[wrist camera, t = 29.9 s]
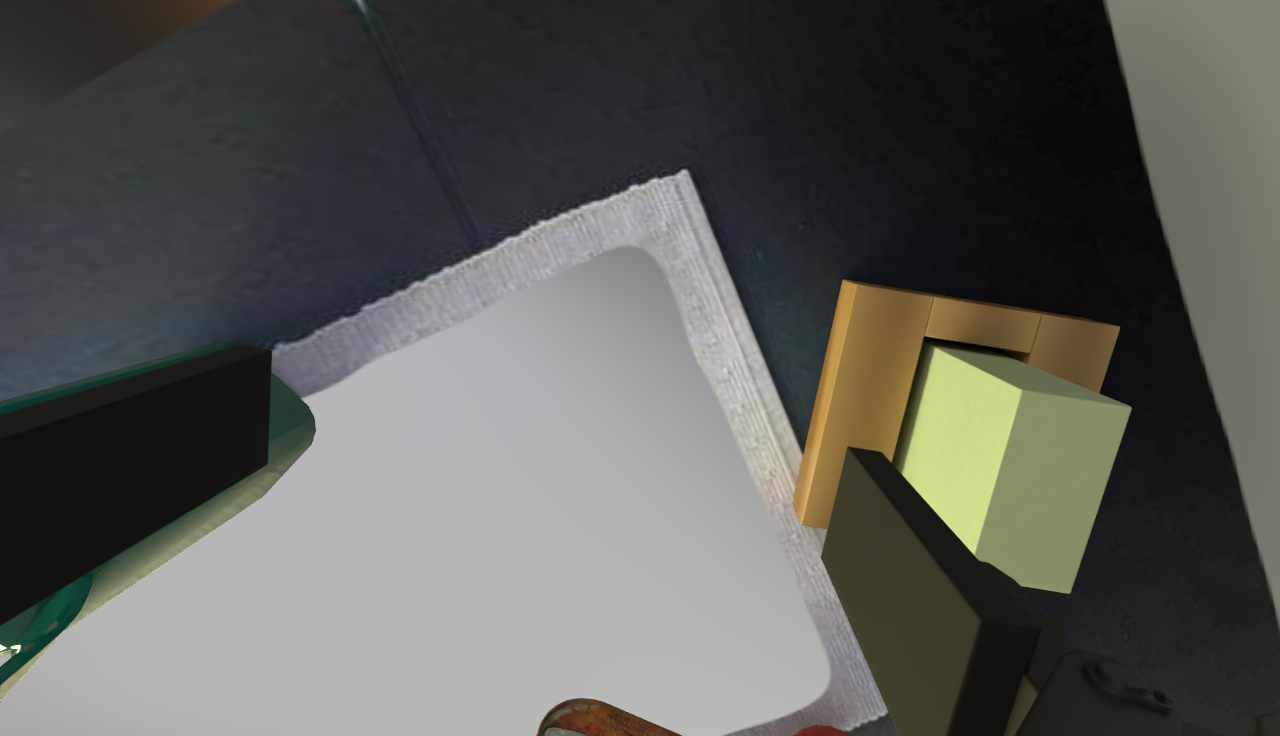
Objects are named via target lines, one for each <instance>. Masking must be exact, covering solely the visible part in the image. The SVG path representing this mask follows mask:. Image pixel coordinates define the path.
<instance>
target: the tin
mask: <svg viewBox="0 0 1280 736" xmlns="http://www.w3.org/2000/svg"><path fill="white" fill-rule="evenodd" d="M536 736H681V735H679V734H677V733H675V732H672V731H670V730H667V729H665V728H663V727H660V726H658V725H656V724H653V723H651V722H649V721H646V720H644V719H642V718H639V717H637V716H635V715H633V714H630V713H628V712H626V711H623V710H621V709H619V708H616V707H614V706H612V705H610V704H607V703H605V702H602V701H598V700H594V699H584V698H579V699H571V700H567V701H564V702H562V703H560V704H558V705H556V706H555V707H554V708H552V709H551V710H550V711H549V712H548V713H547V714H546V716H545V717H544V719H543V720H542V722H541V724H540V726H539V730H538V733H537V735H536Z"/></svg>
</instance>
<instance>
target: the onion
mask: <svg viewBox="0 0 1280 736" xmlns="http://www.w3.org/2000/svg"><path fill="white" fill-rule="evenodd" d="M793 736H850V735H848V734H847V733H845V732H843V731H841V730H838V729H836V728H833V727H831V726H820V725H815V726H812V727H808V728H805V729H802V730H800V731H799V732H798V733H796V734H795V735H793Z"/></svg>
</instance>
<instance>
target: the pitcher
mask: <svg viewBox="0 0 1280 736" xmlns="http://www.w3.org/2000/svg"><path fill="white" fill-rule="evenodd" d="M235 346H236V345H234V344H231V343H214V344H211V345H207V346H203V347H199V348H196V349H192V350H188V351H185V352H181V353H177V354H174V355H170V356H166V357H162V358H159V359H155V360H151V361H148V362H144V363H140V364H137V365H133V366H129V367H125V368H122V369H118V370H114V371H111V372H107V373H103V374H100V375H96V376H92V377H88V378H85V379H81V380H77V381H74V382H70V383H66V384H63V385H59V386H55V387H52V388H48V389H44V390H40V391H37V392H33V393H29V394H26V395H22V396H18V397H15V398H11V399H7V400H3V401H0V414H2V413H6V412H9V411H13V410H16V409H20V408H23V407H27V406H30V405H34V404H37V403H41V402H44V401H48V400H51V399H54V398H58V397H61V396H65V395H68V394H72V393H75V392H79V391H82V390H86V389H89V388H93V387H96V386H100V385H103V384H106V383H110V382H113V381H117V380H120V379H124V378H127V377H131V376H134V375H138V374H141V373H145V372H148V371H152V370H155V369H158V368H162V367H165V366H169V365H172V364H176V363H179V362H183V361H186V360H190V359H193V358H197V357H200V356H204V355H207V354H211V353H214V352H217V351H221V350H224V349H228V348H231V347H235ZM315 432H316V428H315V419H314V416H313V414H312V412H311V410H310V409H309V406H308V405H307V404H306V403H304V402H303V401H302V400H301V399H300V398H299V397H298V396H297V395H296V394H294V393H293V392H292V391H291V390H290V389H289V388H288V387H287V386H286V385H284V384H283V383H282V382H281V381H280V380H279V379H278V378H277V377H276V376H274V375H273V374H272V373H271V392H270V421H269V450H268V465H266V466H265V467H263V468H261V469H260V470H258V471H256V472H255V473H253V474H251V475H250V476H248V477H246V478H245V479H243V480H241V481H240V482H238V483H236V484H235V485H233V486H231V487H230V488H228V489H226V490H225V491H223V492H221V493H220V494H218V495H216V496H215V497H213V498H211V499H210V500H208V501H207V502H205V503H203V504H202V505H200V506H198V507H197V508H195V509H193V510H192V511H190V512H188V513H187V514H185V515H183V516H182V517H180V518H178V519H177V520H175V521H173V522H172V523H170V524H168V525H167V526H165V527H163V528H162V529H160V530H158V531H157V532H155V533H153V534H152V535H150V536H148V537H147V538H145V539H143V540H142V541H140V542H138V543H137V544H135V545H134V546H132V547H130V548H129V549H127V550H125V551H124V552H122V553H120V554H119V555H117V556H115V557H114V558H112V559H110V560H109V561H107V562H105V563H104V564H102V565H100V566H99V567H97V568H95V569H94V570H92V571H90V572H89V573H87V574H85V575H84V576H82V577H80V578H79V579H77V580H75V581H74V582H72V583H70V584H69V585H67V586H65V587H64V588H62V589H61V590H59V591H57V592H56V593H54V594H52V595H51V596H49V597H47V598H46V599H44V600H42V601H41V602H39V603H37V604H36V605H34V606H32V607H31V608H29V609H27V610H26V611H24V612H22V613H21V614H19V615H17V616H16V617H14V618H12V619H11V620H9V621H7V622H6V623H4V624H2V625H1V626H0V654H11V659H9V660H8V661H7V662H6V663H4V664H3V665H2V666H1V667H0V702H1V701H2V700H3V698H4V697H5V696H6V695H7V694H8V693H9V692H10V691H11V690H12V688H13V687H14V686H15V685H16V684H17V683H18V682H19V681H20V679H21V678H22V677H23V676H24V675H25V674H26V673H27V672H28V670H29V669H30V668H31V667H32V666H33V665H34V664H35V663H36V662H37V660H38V659H39V658H40V657H41V656H42V655H43V654H44V653H45V651H46V650H47V649H48V648H49V647H50V646H51V645H52V644H53V643H54V641H55V640H56V639H57V638H58V637H59V636H60V635H61V634H62V633H63V631H65V630H66V629H68V628H69V627H71V626H72V625H74V624H75V623H77V622H78V621H79V620H81V619H83V618H84V617H86V616H87V615H89V614H90V613H91V612H93V611H94V610H96V609H97V608H99V607H100V606H102V605H103V604H105V603H106V602H108V601H109V600H111V599H112V598H114V597H115V596H117V595H118V594H120V593H121V592H123V591H124V590H125V589H127V588H128V587H130V586H131V585H133V584H134V583H136V582H137V581H139V580H140V579H142V578H143V577H145V576H146V575H148V574H149V573H151V572H152V571H154V570H155V569H157V568H158V567H160V566H161V565H163V564H164V563H165V562H167V561H168V560H170V559H171V558H173V557H174V556H176V555H177V554H179V553H180V552H182V551H183V550H185V549H186V548H188V547H189V546H191V545H192V544H193V543H195V542H196V541H198V540H199V539H201V538H202V537H204V536H205V535H207V534H208V533H210V532H211V531H213V530H214V529H216V528H217V527H219V526H220V525H222V524H223V523H225V522H226V521H227V520H229V519H230V518H232V517H233V516H235V515H236V514H238V513H239V512H241V511H242V510H244V509H245V508H247V507H248V506H250V505H251V504H253V503H254V502H256V501H257V500H259V499H260V498H262V497H263V496H264V495H265V494H266V493H267V492H268V491H269V490H270V488H271V487H272V486H273V485H274V484H275V483H276V482H277V481H278V480H279V479H280V477H282V476H283V474H284V473H285V472H286V471H287V470H288V469H289V468H290V467H291V466H292V465H293V463H295V461H296V460H297V459H298V458H299V457H300V456H301V455H302V454H303V453H304V452H305V451H306V450H307V449H308V448H309V446H310V445H311V444H312V442H313V438H314V435H315Z"/></svg>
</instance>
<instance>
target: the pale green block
mask: <svg viewBox="0 0 1280 736" xmlns="http://www.w3.org/2000/svg"><path fill="white" fill-rule="evenodd" d="M1131 409H1132V407H1130V406H1128V405H1126V404H1123V403H1121V402H1118V401H1116V400H1113V399H1111V398H1108V397H1106V396H1104V395H1101V394H1099V393H1096V392H1094V391H1091V390H1089V389H1086V388H1084V387H1081V386H1079V385H1077V384H1074V383H1072V382H1069V381H1067V380H1064V379H1062V378H1059V377H1057V376H1055V375H1052V374H1050V373H1047V372H1045V371H1042V370H1040V369H1037V368H1035V367H1033V366H1030V365H1028V364H1025V363H1023V362H1020V361H1018V360H1015V359H1013V358H1011V357H1008V356H1006V355H1003V354H1001V353H998V352H996V351H993V350H987V349H981V348H975V347H969V346H962V345H956V344H950V343H944V342H937V341H931V340H925V339H923V342H922V346H921V350H920V354H919V358H918V362H917V366H916V370H915V374H914V377H913V381H912V385H911V389H910V393H909V397H908V401H907V405H906V409H905V412H904V416H903V420H902V424H901V428H900V432H899V436H898V440H897V444H896V448H895V451H894V455H893V459H892V464H893V465H894V466H895V467H896V468H897V470H898V471H899V472H900V473H901V474H902V475H903V476H904V477H905V478H906V480H907V481H908V482H909V483H910V484H911V485H912V486H913V487H914V489H915V490H916V491H917V492H918V493H919V494H920V495H921V496H922V497H923V499H924V500H925V501H926V502H927V503H928V504H929V505H930V506H931V507H932V509H933V510H934V511H935V512H936V513H937V514H938V515H939V516H940V518H941V519H942V520H943V521H944V522H945V523H946V524H947V525H948V526H949V528H950V529H951V530H952V531H953V532H954V533H955V534H956V535H957V536H958V538H959V539H960V540H961V541H962V542H963V543H964V544H965V545H966V546H967V548H968V549H969V550H970V551H971V552H972V553H973V554H974V555H975V557H976V558H977V559H978V560H979V561H983V562H989V563H990V564H992V565H993V566H995V567H996V568H998V569H999V570H1001V571H1002V572H1004V573H1005V574H1007V575H1008V576H1010V577H1011V578H1013V579H1014V580H1015V581H1016V582H1017V583H1018V584H1019V585H1020V586H1025V587H1031V588H1037V589H1043V590H1049V591H1056V592H1062V593H1068V594H1070V593H1071V590H1072V587H1073V584H1074V581H1075V578H1076V575H1077V572H1078V569H1079V566H1080V563H1081V560H1082V557H1083V554H1084V551H1085V548H1086V545H1087V542H1088V539H1089V536H1090V533H1091V530H1092V527H1093V524H1094V521H1095V518H1096V515H1097V512H1098V509H1099V506H1100V503H1101V500H1102V496H1103V493H1104V490H1105V487H1106V484H1107V481H1108V478H1109V475H1110V472H1111V469H1112V466H1113V463H1114V460H1115V457H1116V454H1117V451H1118V448H1119V445H1120V442H1121V439H1122V436H1123V433H1124V430H1125V427H1126V424H1127V421H1128V418H1129V415H1130V412H1131Z"/></svg>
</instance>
